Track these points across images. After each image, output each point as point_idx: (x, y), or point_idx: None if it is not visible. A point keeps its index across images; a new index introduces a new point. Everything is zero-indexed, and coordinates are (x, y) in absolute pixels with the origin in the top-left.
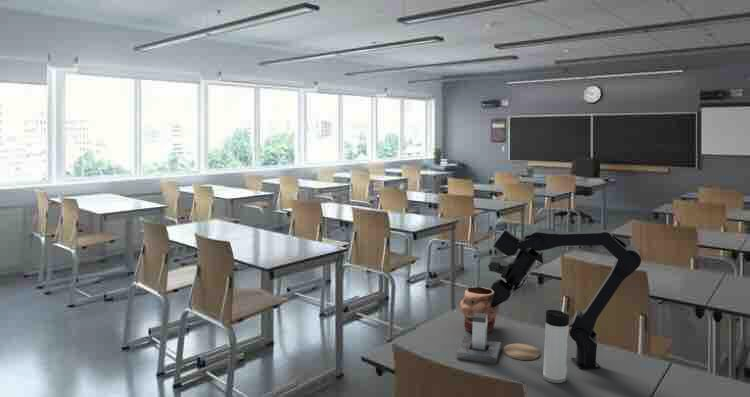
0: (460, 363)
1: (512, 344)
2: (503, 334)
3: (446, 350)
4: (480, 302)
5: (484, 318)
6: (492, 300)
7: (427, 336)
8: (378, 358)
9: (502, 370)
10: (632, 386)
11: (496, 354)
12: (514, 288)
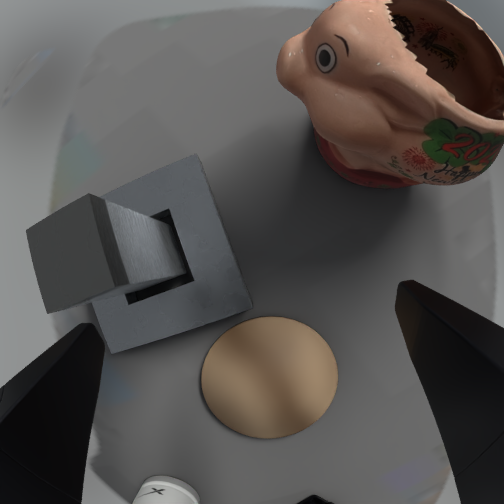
0: None
1: (303, 331)
2: (385, 243)
3: (110, 155)
4: (366, 96)
5: (45, 306)
6: (28, 367)
7: (177, 49)
8: (12, 85)
9: (102, 379)
10: None
11: (134, 344)
12: (464, 475)
